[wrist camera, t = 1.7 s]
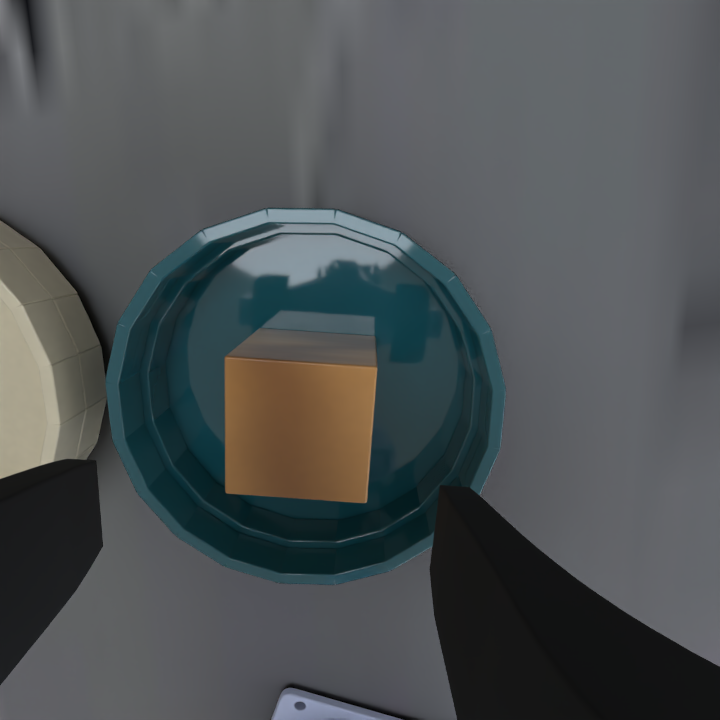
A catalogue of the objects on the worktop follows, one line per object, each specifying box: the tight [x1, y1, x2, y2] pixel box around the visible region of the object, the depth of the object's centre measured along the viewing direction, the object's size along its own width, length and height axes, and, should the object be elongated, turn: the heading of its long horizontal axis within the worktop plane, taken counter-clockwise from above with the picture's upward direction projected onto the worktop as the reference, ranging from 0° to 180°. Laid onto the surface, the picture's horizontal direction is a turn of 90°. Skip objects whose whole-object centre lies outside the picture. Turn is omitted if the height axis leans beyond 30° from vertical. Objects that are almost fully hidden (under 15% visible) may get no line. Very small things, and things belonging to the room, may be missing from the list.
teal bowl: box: [105, 208, 506, 585], centre depth 17 cm, size 13×13×4 cm
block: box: [225, 328, 377, 503], centre depth 16 cm, size 4×4×4 cm
